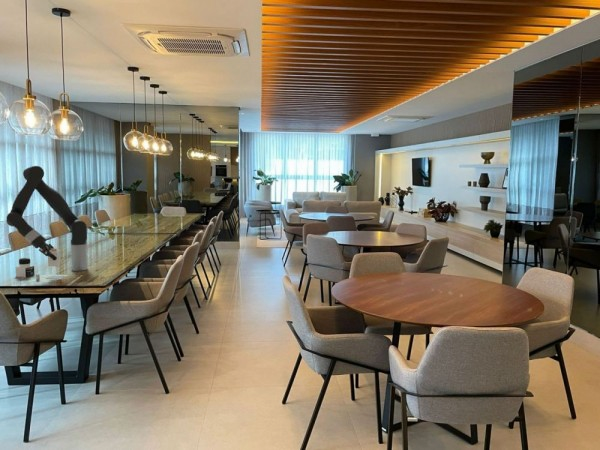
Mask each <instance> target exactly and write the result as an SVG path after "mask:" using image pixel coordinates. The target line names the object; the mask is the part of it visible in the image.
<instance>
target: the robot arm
mask: <svg viewBox="0 0 600 450" xmlns="http://www.w3.org/2000/svg"><path fill="white" fill-rule="evenodd" d="M22 175H23V178H24V179H25V181H26V182H25V184H24V186H23V187H22V188H21V190H20V191H18V193H17V195H16V197H15V199H14V201H13V203H12V207H11V210H10V211H9V213H8V214H7V215H6V220H5V222H6V223H7V225H8V226H9V227H14V228H15V229H16V230H17V232H18V233H19V234H20V235H21V237H24V239H25V240H26V241H27V242H28V243H29V244H30V245H32V247H33V248H35V249H38V251H39V252H40V253H42V254H43V255H44V256H46V257H47V258H48V257H49V256H50V258H52V259H53V260H54V261H55V260H56V259H57V257H56V256H54V255H53V254H52V253H51V252H50V251H51V249H56V248H55V247H54V246H53V245H52V244H51V243H49V244H48V243H46V242H47V238H45V237H44V236H43V235H42V234H40V232H39V231H38V230H36V229H35V228H34V227H32V226H31V225H30V224H29V223H28V222H27V221H26V219H25V218H24V217H23V215H24V212H25V210H26V209H27V207H28V205H29V202H30V200H31V197H32V195H33V194H34V193H35V191H36V192H37V193H38V194H39V195H40V196H41V197H42V198H43V199H44V201H45V202H46V204H47V205H48V206H49V207H50V208H51V209H52V210H53V211H54V212H55V213H56V214H57V215H58V216H59V217H60V218H61V219H62V220H63V222H64V223H65V224H66V226H67V227H68V229H69V230H70V232H71V240H70V253H71V255H70V256H71V271H74V272H75V271H76V272H77V271H78V272H80V271H86V270H88V255H87V254H88V253H87V252H88V251H87V240H88V227H87V224H86V222H85V221H83V220H81V219H79V218H78V217H77V216H76V214H74V212H73V211H72V210H71V208H70V205H69V204H68V202H67V200H65V199H64V197H63V196H62V195H61V194H60V193H59V192H58V191H57V190H55V189H54V188H53V187H51V186H50V185H48V184H47V183H46V182H45V181H44V180H43V178H44V177H45V171H44V169H43V167H41V166H40V165H32V166H29V167H27V168H25V169H24V170H23V173H22Z"/></svg>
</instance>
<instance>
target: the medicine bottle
mask: <svg viewBox="0 0 600 450" xmlns="http://www.w3.org/2000/svg"><path fill="white" fill-rule="evenodd" d="M31 264H32V263H31V258H30V257H21V258H19V259H18V266H16V267H15V277H17V278H28V277H32V276H36V274H35V265H31Z"/></svg>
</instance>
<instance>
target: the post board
mask: <svg viewBox="0 0 600 450" xmlns="http://www.w3.org/2000/svg"><path fill="white" fill-rule="evenodd" d="M35 276H36V277H34V278H32V279H30V280H28V281H26V283H54V282H57V281H59V280H60V279H63V278H65V277H68V276H69V274H43V275H40V273H37V274H35Z"/></svg>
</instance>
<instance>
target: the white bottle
mask: <svg viewBox="0 0 600 450" xmlns="http://www.w3.org/2000/svg"><path fill="white" fill-rule="evenodd" d="M50 252H51V253H52V254H53V255H54V256H56V257H57V259H56V260H55V261H54V260H53V259H52V258H50V256H49V257H48V256H47V267H59V266H60V265H61V250H60V249H58V248H55V249H51V251H50Z"/></svg>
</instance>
